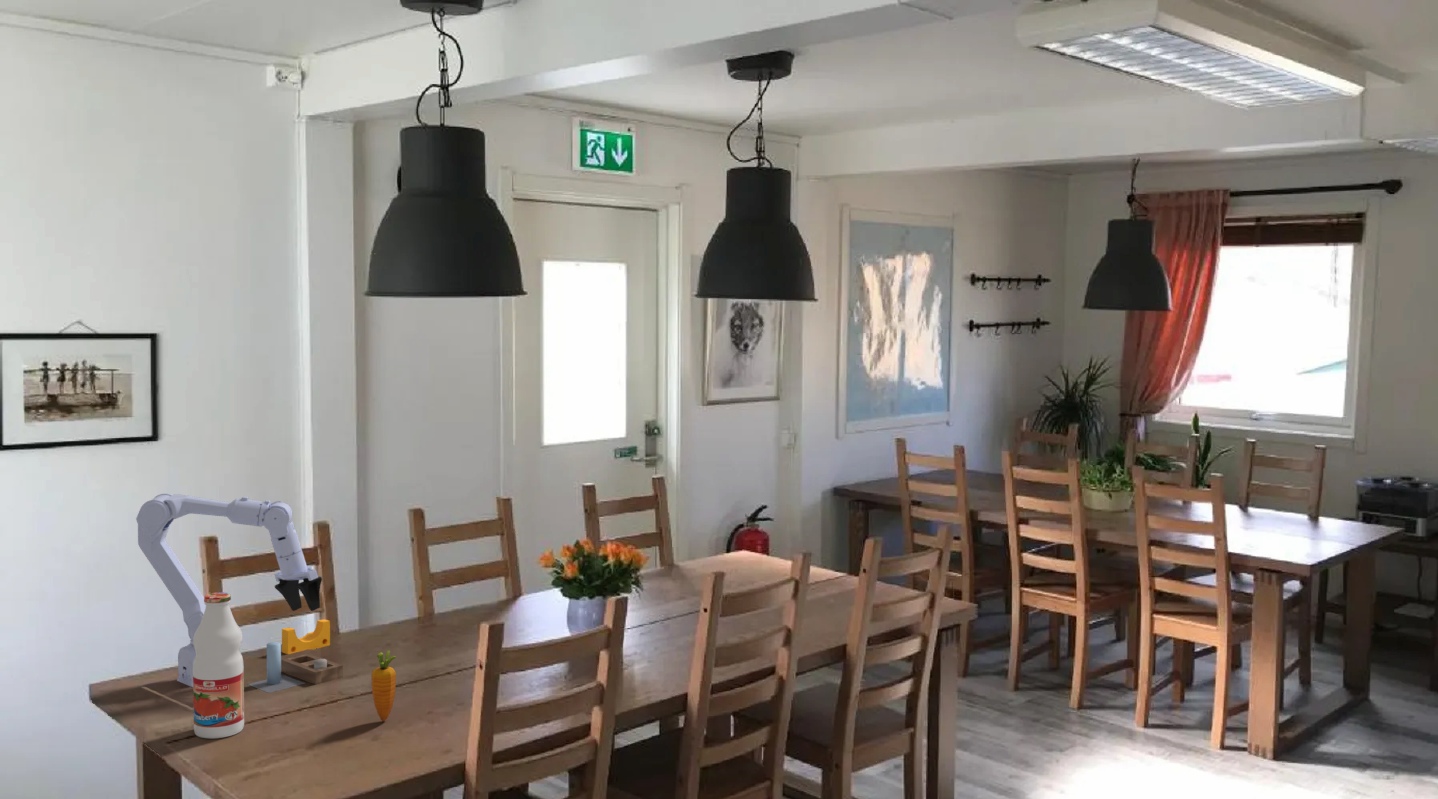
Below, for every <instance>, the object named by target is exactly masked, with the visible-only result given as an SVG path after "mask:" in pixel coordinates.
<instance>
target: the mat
mask: <svg viewBox="0 0 1438 799" xmlns="http://www.w3.org/2000/svg"><path fill="white" fill-rule="evenodd" d="M305 684H306V682H305V681H301V680H298V679H295V678H293V677H291V676H289V675H285V674H281V683H280V684H276V685H268V684H267V678H266V679H263V680H258V681H254V682H251V683H247V685H248V686H250V687H253V688H255V689H257V690H260V691H263V692H265V693H267V694H272V693H276V692H279V691H282V690H286V689H290V688H294V687H298V686H302V685H305Z"/></svg>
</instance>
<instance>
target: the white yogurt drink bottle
mask: <svg viewBox="0 0 1438 799" xmlns="http://www.w3.org/2000/svg"><path fill="white" fill-rule="evenodd" d="M203 597H204V602H205V603H204V604H205V605H206V609H205V612H204V615H203V618H202V620H201V623H200V625H199V627H198V629H197V630H196V632H195V634H194V638H193V644H194V648H195V651H196V657H195V659H194V663H193V687H192V691H193V692H192V696H193V697H192V700H193V701H192V702H193V732H194V734H195V736H196V737H198V738H200V739H201V738H202V739H212V740H213V739H222V738H227V737H231V736H234V735H237V734H239V733H240V732H242V731H243V730H244V727H245V688H244V687H245V684H244V682H245V680H244V679H245V678H244V677H245V676H244V675H245V673H244V671H245V667H244V659H243V655H242V653H241V647H242V643H243V631H242V629H241V628H240V626H239V625H238V623H237V622H236V620H235V617H234V615H233V613H232V610H231V606H230V604H231V600H232V597H231V594H230V593H229V592H225V591H224V592H220V591H218V592H211V593H207V594H205V595H204V596H203Z"/></svg>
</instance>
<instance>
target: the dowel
mask: <svg viewBox="0 0 1438 799" xmlns="http://www.w3.org/2000/svg"><path fill="white" fill-rule="evenodd" d="M281 660H282V642H279V641H272V642H271V641H270V642H268V643H266V679H267V684H268V685H276V684H280V683H281V675H282V672H281Z"/></svg>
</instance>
